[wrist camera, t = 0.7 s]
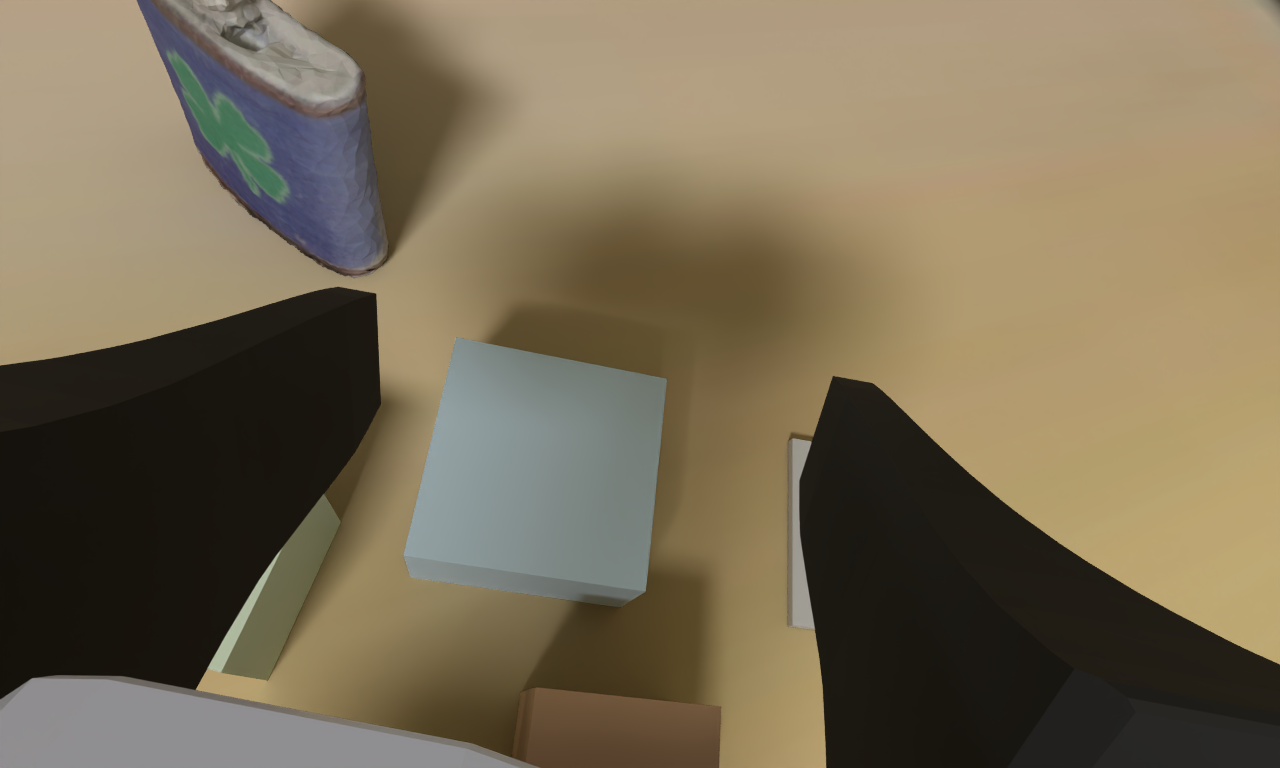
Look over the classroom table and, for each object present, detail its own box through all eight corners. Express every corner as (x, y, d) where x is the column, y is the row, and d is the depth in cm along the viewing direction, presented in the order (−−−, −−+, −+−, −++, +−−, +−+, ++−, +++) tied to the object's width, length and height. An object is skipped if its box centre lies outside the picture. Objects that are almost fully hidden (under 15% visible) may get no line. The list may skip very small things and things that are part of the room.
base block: (619, 608, 25) (645, 591, 22) (410, 578, 24) (403, 555, 21) (640, 420, 28) (666, 378, 25) (455, 386, 27) (456, 337, 24)
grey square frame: (965, 648, 27) (977, 647, 27) (787, 626, 26) (796, 624, 25) (948, 468, 30) (958, 463, 30) (788, 441, 29) (795, 435, 28)
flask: (404, 254, 29) (377, 24, 19) (343, 299, 27) (281, 76, 18) (238, 108, 30) (133, -182, 20) (171, 144, 28) (25, -146, 19)
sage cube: (268, 680, 22) (221, 672, 18) (99, 631, 22) (6, 610, 17) (341, 522, 24) (315, 480, 20) (189, 474, 24) (128, 419, 19)
